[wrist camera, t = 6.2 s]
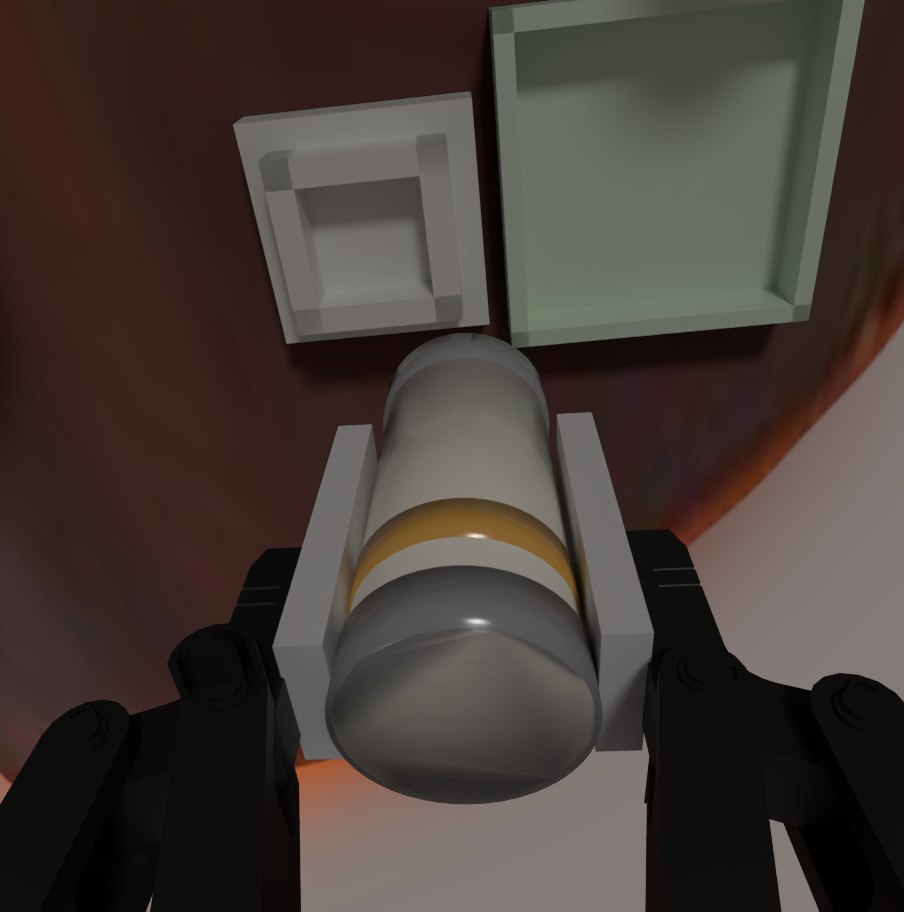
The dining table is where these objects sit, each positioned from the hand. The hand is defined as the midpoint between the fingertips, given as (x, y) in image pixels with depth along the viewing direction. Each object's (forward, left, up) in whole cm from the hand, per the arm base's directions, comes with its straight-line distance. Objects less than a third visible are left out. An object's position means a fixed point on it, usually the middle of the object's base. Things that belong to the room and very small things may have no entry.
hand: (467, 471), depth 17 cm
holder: (-4, 0, -21) cm, 22 cm away
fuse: (0, 0, -3) cm, 3 cm away
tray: (+9, +1, -21) cm, 23 cm away
